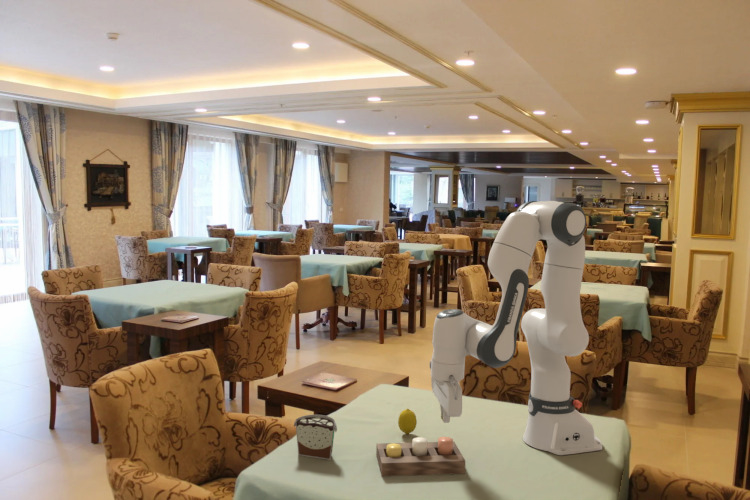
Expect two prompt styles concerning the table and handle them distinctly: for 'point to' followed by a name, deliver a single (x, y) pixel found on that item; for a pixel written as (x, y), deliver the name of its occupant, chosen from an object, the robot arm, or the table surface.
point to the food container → (315, 435)
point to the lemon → (407, 421)
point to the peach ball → (445, 446)
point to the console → (419, 461)
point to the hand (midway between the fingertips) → (445, 420)
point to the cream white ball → (419, 446)
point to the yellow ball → (393, 450)
